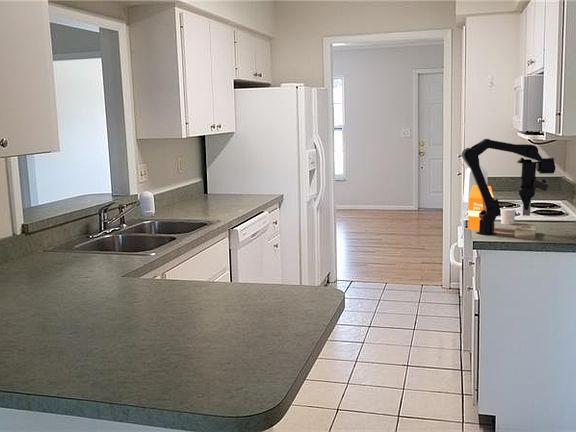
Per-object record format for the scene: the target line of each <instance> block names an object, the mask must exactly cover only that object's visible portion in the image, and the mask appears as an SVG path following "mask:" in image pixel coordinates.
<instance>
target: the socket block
mask: <svg viewBox="0 0 576 432" xmlns="http://www.w3.org/2000/svg"><path fill="white" fill-rule="evenodd" d="M536 233H537V226H536V225H525V224H524V225H522V224H520V225H519V224H517V225H516V226H515V230H514V239H523V240H524V239H525V240H536V239H535V238H536Z"/></svg>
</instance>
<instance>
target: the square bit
mask: <svg viewBox="0 0 576 432" xmlns="http://www.w3.org/2000/svg"><path fill="white" fill-rule="evenodd" d="M531 205H532V199H531V200H530V203H529V207H528V210H525V208H524V205H523V204H522V216H523V217H524V216H525V217H528V216H529V217H530V216H531V209H532V208H531Z"/></svg>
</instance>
